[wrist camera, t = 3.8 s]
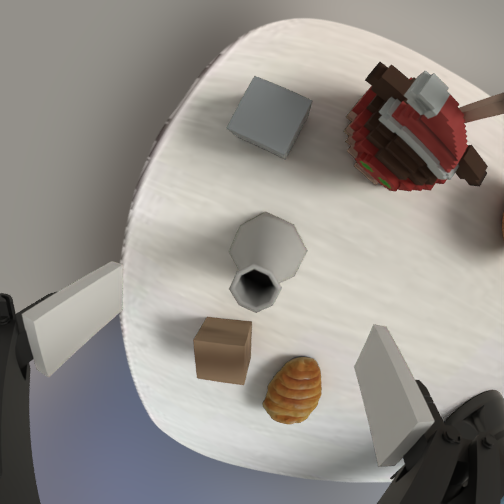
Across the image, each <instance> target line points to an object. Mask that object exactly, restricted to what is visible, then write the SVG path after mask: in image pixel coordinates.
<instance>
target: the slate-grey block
mask: <svg viewBox="0 0 504 504" xmlns="http://www.w3.org/2000/svg"><path fill="white" fill-rule="evenodd" d="M311 104H312V100H310V99H308V98H306V97H303V96H301V95H299V94H297V93H295V92H293V91H290V90H288V89H286V88H283V87H281V86H279V85H276V84H274V83H271V82H269V81H266V80H264V79H261V78H259V77H256V76H254V78H253V80H252V81H251V83H250V85H249V87H248V88H247V90H246V92H245V94H244V96H243V98H242V99H241V101H240V103H239V105H238V107H237V109H236V111H235V113H234V114H233V116H232V118H231V120H230V122H229V124H228V126H227V129H228V130H229V131H231V132H232V133H233V134H235V135H236V136H237V137H239V138H241V139H243V140H245V141H248V142H250V143H252V144H254V145H256V146H258V147H261V148H263V149H265V150H267V151H269V152H271V153H273V154H275V155H277V156H279V157H281V158H283V159H286V157H287V155H288V153H289V152H290V150H291V148H292V146H293V144H294V142H295V140H296V138H297V136H298V134H299V132H300V130H301V128H302V126H303V125H304V123H305V121H306V119H307V117H308V115H309V111H310V108H311Z"/></svg>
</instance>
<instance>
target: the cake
mask: <svg viewBox="0 0 504 504" xmlns="http://www.w3.org/2000/svg"><path fill="white" fill-rule="evenodd" d="M365 81H367V82H368V83H369V84H370V85H372V86H371V87H370V88H369V89H368V91H367V92H366V93H365V94H364V96H362V97H361V99H360V100H359V101H358V102H357V104H356V105H355V106H354V107H353V109H352V110H351V111H350V112H349V114H348V115H347V116H346V118H348V119H349V120H350V121H351V123H350V124H349V125H348V127H347V128H346V129H345V130H344V132H345V133H346V134H347V135H348V136H349V137H348V138H347V140H346V141H345V142H347V143H348V144H349V145H350V148H349V149H348V150H347V152H348V153H349V154H351V155H352V156H353V157H354V158H355V160H356V161H357V162H356V163H355V165H354V167H356V168H357V169H358V170H359V171H360V172H361V173H363V174H364V175H365V176H366V177H367V178H368V179H369V180H370V181H372V182H373V183H374V184H375V185H377V184H378V182H379V183H380V184H381V185H383V186H384V187H385V188H387V189H388V190H390V191H397V189H399V190H404V191H412V190H418V191H421V190H422V189H424V190H431V189H432V188H433V186H434V185H435V183H438V184H444V183H445V181H446V180H447V179H449V180H451V178H452V177H453V175H454V173H456V174H457V175H458V176H459V178H460V179H465V180H466V181H467V182H468V184H469V185H471V186H480V185H481V183H482V182H483V180H484V178H485V176H486V174H487V172H486V171H485V170H486V169H487V167H488V166H487V165H486V163H485V162H484V161H483V159H482V158H481V157H480V155H479V154H478V153H477V151H476V150H475V149H474V147H473V146H472V145H467V144H466V143H467V140H466V137H467V135H466V134H465V133H466V132H467V131H466V130H465V127H466V125H465V124H464V123H467V122H471V121H475V120H479V119H483V118H487V117H492V116H496V115H500V114H504V93H501V94H498V95H495V96H492V97H489V98H486V99H483V100H480V101H477V102H474V103H471V104H468V105H466V106H463V107H460V108H458V106H459V103H458V102H457V101H456V100H455V99H454V98H453V97H452V96H451V95H450V94H449V93H448V92H447V90H448V87H447V86H446V85H445V84H444V83H443V82H442V81H441V80H440V79H439V78H438V77H437V76H436V75H435V74H434V73H433V74H432V75H430V74H429V73H428V72H427V71H424V72H423V73H422V74H420V75H419V76H418V77H417V78H410V79H408V78H407V77H406V76H405V75H404V74H402V73H401V72H400V71H399V70H398V69H396V68H395V67H394V66H393V65H390V67H389V68H388V67H386V66H385V65H384V64H382V63H381V62H379V63H378V64H377V66H376V67H375V68H374V69H373V70H372V72H371V73H370V74H369V75H368V77H367V78H366V79H365Z"/></svg>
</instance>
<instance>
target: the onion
mask: <svg viewBox="0 0 504 504" xmlns="http://www.w3.org/2000/svg"><path fill="white" fill-rule="evenodd" d="M502 233H503V239H504V212H503V220H502Z"/></svg>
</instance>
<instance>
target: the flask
mask: <svg viewBox="0 0 504 504" xmlns="http://www.w3.org/2000/svg"><path fill="white" fill-rule="evenodd" d="M229 253H230V255H231V257H232V258H233V260H234V262H235V263H236V265H237V267H238V269H239V271H237V272H236V275H235V277H234V279H233V281H232V284H231V286H230V288H229V290H230V291H231V293H232V295H233V296H234V298H235V300H236V301H237V303H238V304H239V305H240V306H242V307H244V308H247V309H249V310H251V311H253V312H256V313H257V312H259V311H261V310H264V309H266V308H268V307H270V306H272V305H273V304H274V302H275V300H276V299H277V297H278V295H279V293H280V291H281V289H282V288H281V286H280V284H279V283H281V282H283V281H285V280H287V279H289V278H292V277H294V276H295V274H296V272H297V270H298V268H299V266H300V264H301V262H302V260H303V258H304V256H305V254H306V253H307V249H306V247H305V245H304V243H303V241H302V239H301V237H300V235H299V234H298V232H297V230H296V228H295V226H294V224H291V223H289V222H287V221H285V220H283V219H281V218H279V217H276V216H274V215H272V214H270V213H268V212H265V213H263V214H261V215H259V216H257V217H255V218H254V219H252V220H250V221H248V222H246V223H244V224H243V225H241V226H240V227H239V230H238V232H237V234H236V237H235V239H234V241H233V244H232V246H231V248H230V251H229Z"/></svg>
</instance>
